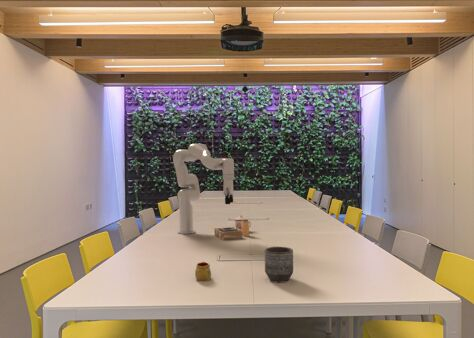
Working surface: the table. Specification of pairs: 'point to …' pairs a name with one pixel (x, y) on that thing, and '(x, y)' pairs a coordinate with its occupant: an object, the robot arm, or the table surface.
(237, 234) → the oak box
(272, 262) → the planter
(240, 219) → the teacup with lid
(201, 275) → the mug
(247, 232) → the block
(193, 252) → the table surface
